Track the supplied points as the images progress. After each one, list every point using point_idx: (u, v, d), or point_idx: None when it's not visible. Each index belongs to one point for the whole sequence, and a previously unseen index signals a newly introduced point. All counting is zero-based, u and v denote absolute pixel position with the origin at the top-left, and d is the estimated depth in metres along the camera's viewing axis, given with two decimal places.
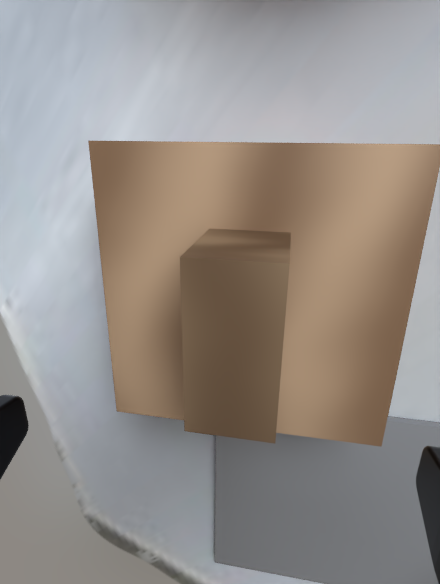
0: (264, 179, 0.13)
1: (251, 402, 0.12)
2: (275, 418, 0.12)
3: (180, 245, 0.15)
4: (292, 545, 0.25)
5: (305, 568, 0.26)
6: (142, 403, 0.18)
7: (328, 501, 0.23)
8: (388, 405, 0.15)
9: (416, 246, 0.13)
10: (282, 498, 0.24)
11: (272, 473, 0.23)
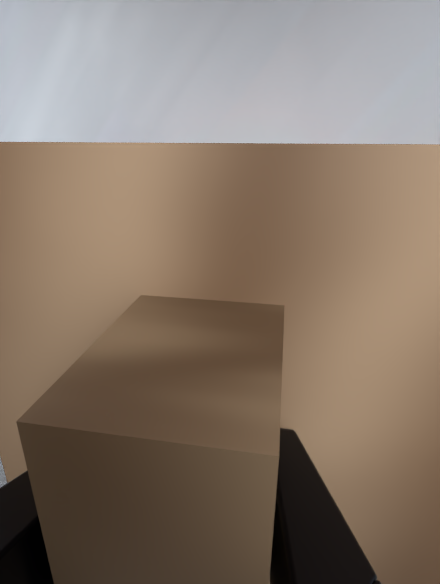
0: (234, 212, 0.07)
1: None
2: None
3: (94, 321, 0.09)
4: None
5: None
6: None
7: None
8: None
9: None
10: None
11: None
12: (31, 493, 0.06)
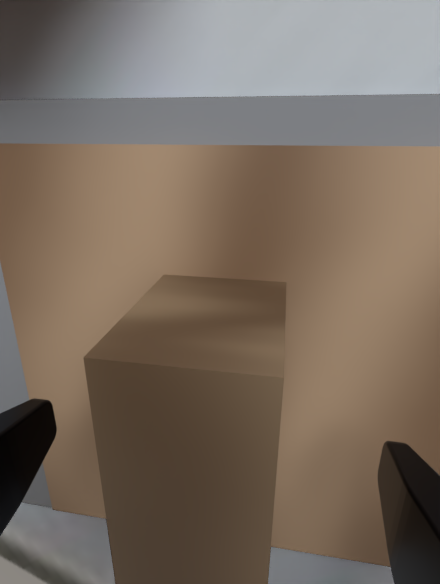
0: (244, 202, 0.08)
1: (222, 581, 0.07)
2: None
3: (122, 298, 0.10)
4: None
5: None
6: (85, 501, 0.13)
7: None
8: None
9: None
10: None
11: None
12: None
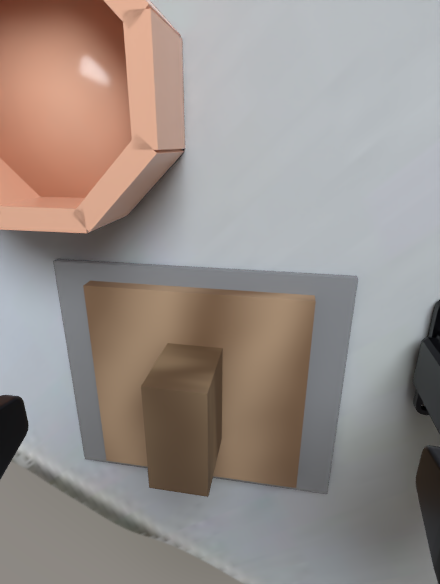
0: (202, 315, 0.20)
1: (191, 471, 0.18)
2: (207, 481, 0.18)
3: (148, 352, 0.21)
4: None
5: None
6: (125, 455, 0.24)
7: None
8: (298, 460, 0.22)
9: (305, 360, 0.19)
10: None
11: None
12: None
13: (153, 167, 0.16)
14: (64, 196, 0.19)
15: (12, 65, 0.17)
